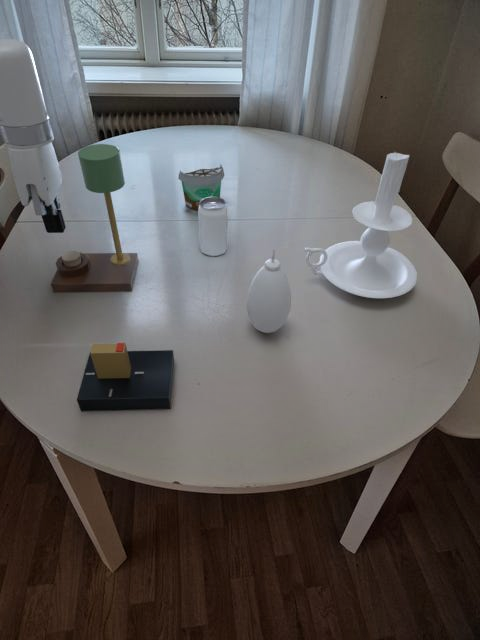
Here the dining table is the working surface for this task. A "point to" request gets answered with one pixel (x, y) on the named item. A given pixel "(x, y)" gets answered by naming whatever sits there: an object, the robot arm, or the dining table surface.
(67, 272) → the lamp base
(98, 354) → the yellow upright block
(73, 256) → the lamp button
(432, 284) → the dining table surface
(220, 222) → the can
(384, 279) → the candlestick
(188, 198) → the food container
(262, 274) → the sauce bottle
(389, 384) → the dining table surface
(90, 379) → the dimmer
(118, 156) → the lamp
